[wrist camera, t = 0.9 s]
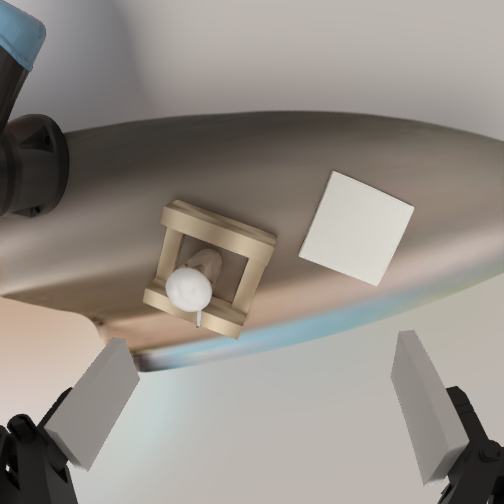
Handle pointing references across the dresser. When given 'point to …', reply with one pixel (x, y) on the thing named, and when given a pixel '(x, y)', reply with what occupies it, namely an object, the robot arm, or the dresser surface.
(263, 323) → the dresser surface
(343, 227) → the pad
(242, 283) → the pocket holder
